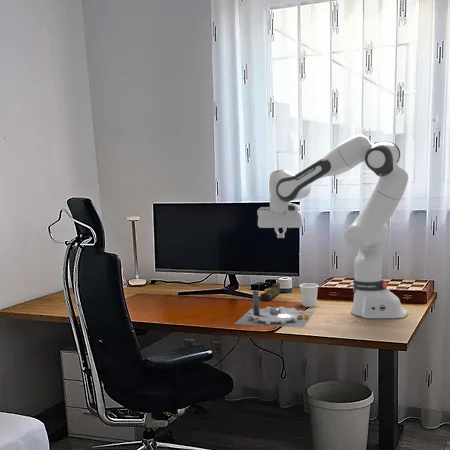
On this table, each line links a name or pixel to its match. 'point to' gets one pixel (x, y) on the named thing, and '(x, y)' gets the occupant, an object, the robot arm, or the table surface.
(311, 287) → the dixie cup
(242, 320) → the base plate
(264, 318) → the sprocket
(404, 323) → the table surface
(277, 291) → the brown wooden log
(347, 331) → the table surface
